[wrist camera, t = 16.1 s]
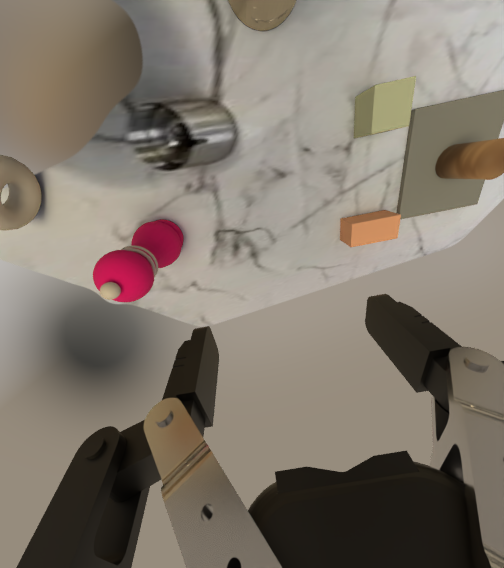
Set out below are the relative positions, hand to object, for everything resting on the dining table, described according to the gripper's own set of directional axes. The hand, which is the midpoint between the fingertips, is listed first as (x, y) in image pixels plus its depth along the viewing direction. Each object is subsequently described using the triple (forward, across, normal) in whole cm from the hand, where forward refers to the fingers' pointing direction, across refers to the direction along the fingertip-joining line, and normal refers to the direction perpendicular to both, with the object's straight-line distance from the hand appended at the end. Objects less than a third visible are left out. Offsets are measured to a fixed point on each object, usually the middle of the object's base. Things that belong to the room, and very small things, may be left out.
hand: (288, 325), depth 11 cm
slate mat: (+30, -33, -2) cm, 45 cm away
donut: (+30, +33, -10) cm, 46 cm away
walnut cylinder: (+29, -33, -2) cm, 44 cm away
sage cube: (+30, -20, -10) cm, 38 cm away
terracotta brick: (+30, -20, +6) cm, 37 cm away
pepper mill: (+30, +16, +1) cm, 34 cm away
